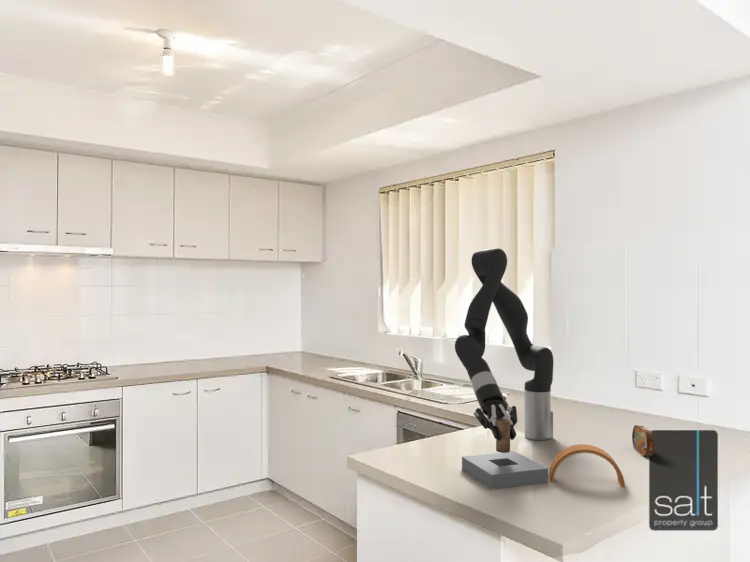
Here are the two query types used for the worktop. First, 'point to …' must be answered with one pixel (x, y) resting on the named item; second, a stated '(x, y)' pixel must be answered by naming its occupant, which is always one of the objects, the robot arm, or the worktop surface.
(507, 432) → the peg
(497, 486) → the socket block
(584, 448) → the arch
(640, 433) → the tin
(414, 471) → the worktop surface
